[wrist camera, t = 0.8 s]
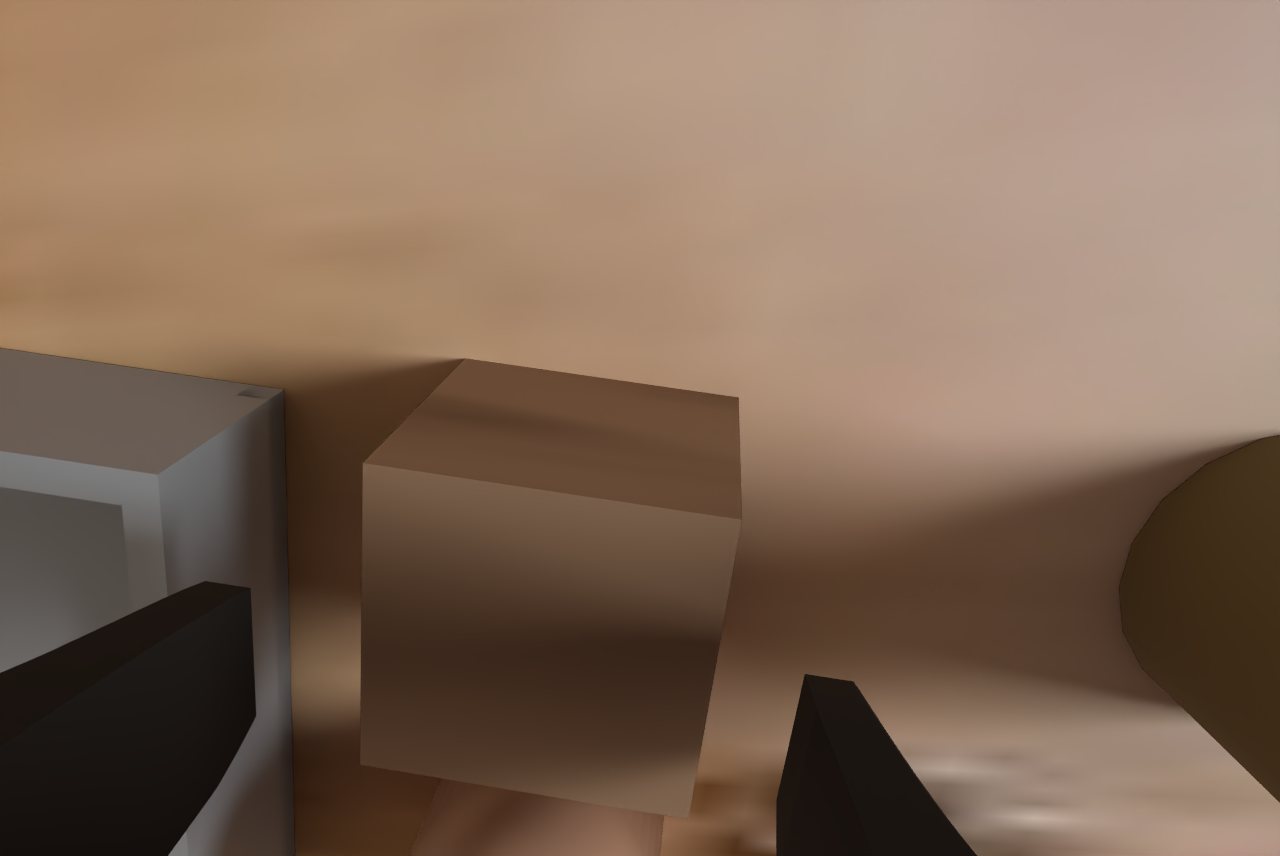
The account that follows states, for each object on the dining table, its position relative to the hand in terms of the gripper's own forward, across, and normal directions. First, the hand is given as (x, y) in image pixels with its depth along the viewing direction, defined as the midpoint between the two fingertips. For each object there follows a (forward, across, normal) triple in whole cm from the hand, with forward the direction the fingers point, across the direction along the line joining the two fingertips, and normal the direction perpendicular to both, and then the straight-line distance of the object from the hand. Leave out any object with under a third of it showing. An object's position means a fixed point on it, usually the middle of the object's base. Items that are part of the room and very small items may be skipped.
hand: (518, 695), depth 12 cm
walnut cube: (+6, 0, 0) cm, 6 cm away
